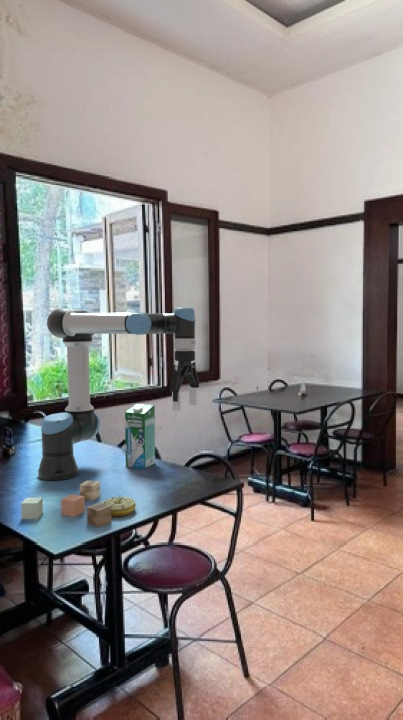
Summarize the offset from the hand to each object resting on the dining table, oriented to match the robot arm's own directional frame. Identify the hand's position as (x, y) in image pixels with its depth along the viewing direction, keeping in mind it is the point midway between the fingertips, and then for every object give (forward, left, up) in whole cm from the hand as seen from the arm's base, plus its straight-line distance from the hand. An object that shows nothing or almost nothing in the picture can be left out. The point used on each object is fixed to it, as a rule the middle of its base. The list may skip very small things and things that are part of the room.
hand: (184, 407), depth 189 cm
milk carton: (-27, +12, -28) cm, 41 cm away
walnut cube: (-6, -46, -28) cm, 54 cm away
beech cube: (-22, -29, -28) cm, 46 cm away
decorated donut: (-6, -36, -28) cm, 46 cm away
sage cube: (-28, -50, -28) cm, 64 cm away
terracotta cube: (-18, -43, -28) cm, 54 cm away
